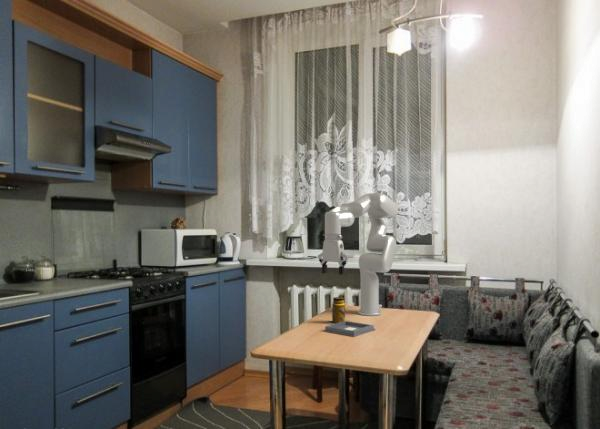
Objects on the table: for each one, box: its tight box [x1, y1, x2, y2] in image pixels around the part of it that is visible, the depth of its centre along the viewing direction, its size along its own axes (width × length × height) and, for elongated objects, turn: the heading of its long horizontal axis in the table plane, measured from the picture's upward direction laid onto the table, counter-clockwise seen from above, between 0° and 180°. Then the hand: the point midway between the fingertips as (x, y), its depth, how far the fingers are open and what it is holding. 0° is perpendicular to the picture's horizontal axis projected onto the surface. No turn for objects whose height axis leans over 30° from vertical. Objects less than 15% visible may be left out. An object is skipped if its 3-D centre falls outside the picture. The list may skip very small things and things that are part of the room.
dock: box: [323, 320, 376, 338], centre depth 220 cm, size 17×16×2 cm
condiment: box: [326, 296, 346, 325], centre depth 237 cm, size 7×8×12 cm
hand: (333, 273), depth 234 cm, fingers open, 9 cm apart
